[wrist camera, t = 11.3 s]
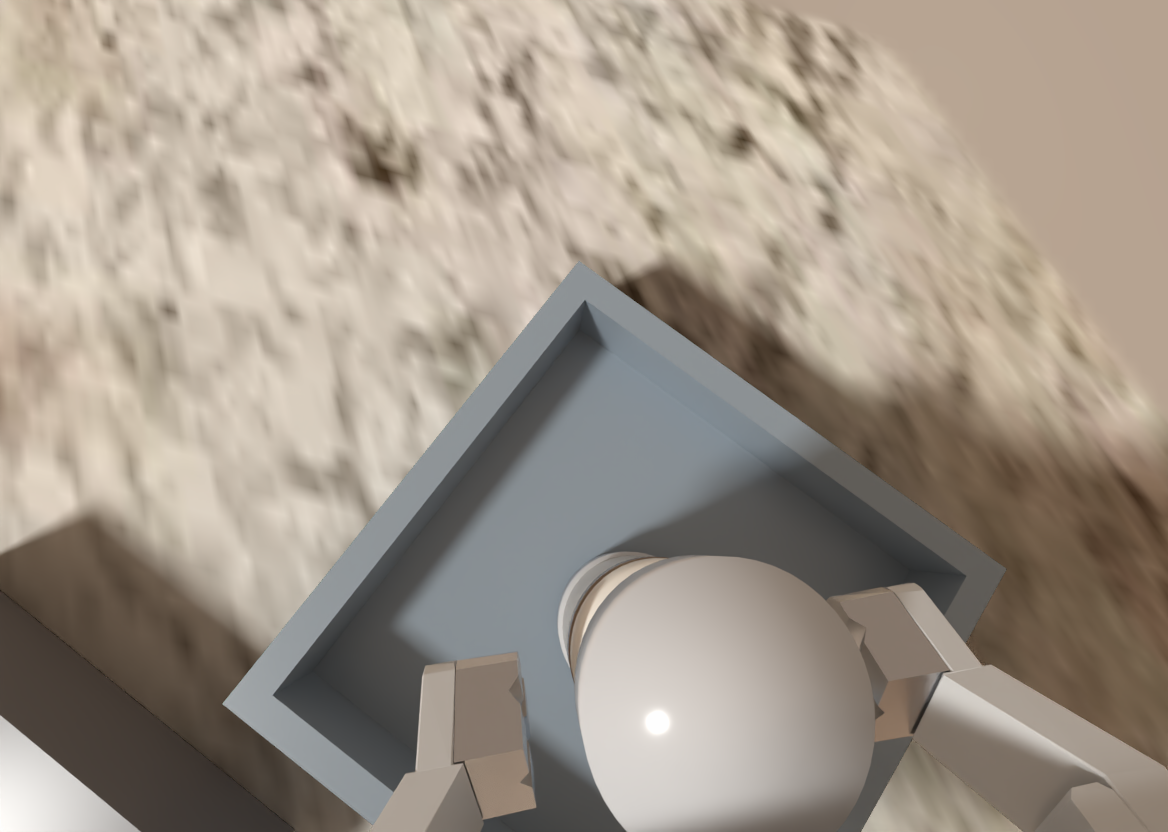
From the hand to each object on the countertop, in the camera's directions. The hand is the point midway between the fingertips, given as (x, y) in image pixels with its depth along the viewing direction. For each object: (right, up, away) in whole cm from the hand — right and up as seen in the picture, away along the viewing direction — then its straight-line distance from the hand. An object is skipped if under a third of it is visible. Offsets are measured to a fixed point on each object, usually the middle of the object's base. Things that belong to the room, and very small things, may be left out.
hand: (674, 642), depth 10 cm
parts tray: (0, -2, +8) cm, 8 cm away
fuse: (0, -2, +7) cm, 7 cm away
